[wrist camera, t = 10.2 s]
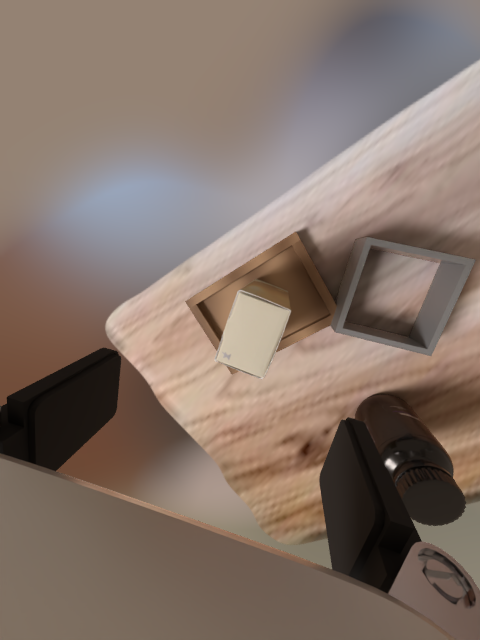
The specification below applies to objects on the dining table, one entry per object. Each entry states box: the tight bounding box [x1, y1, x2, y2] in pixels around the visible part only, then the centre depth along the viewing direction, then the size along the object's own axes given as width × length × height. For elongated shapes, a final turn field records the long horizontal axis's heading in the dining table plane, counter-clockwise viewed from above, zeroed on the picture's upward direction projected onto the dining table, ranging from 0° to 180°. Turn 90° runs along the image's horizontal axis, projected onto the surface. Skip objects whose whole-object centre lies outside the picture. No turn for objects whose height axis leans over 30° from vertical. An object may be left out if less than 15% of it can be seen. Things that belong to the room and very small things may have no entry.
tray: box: [185, 232, 337, 374], centre depth 31 cm, size 15×11×1 cm
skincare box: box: [215, 279, 291, 379], centre depth 25 cm, size 6×4×12 cm
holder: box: [331, 237, 476, 356], centre depth 27 cm, size 10×10×4 cm
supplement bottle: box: [355, 394, 466, 526], centre depth 27 cm, size 7×7×12 cm
